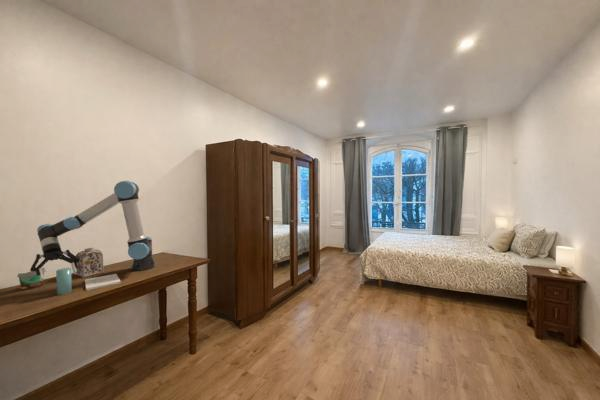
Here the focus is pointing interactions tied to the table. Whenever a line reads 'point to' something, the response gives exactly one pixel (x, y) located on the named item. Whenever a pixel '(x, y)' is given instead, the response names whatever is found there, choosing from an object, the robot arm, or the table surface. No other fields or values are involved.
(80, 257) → the decorative jar
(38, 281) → the food container
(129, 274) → the table surface
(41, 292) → the table surface
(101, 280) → the pale board
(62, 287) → the teal canister
